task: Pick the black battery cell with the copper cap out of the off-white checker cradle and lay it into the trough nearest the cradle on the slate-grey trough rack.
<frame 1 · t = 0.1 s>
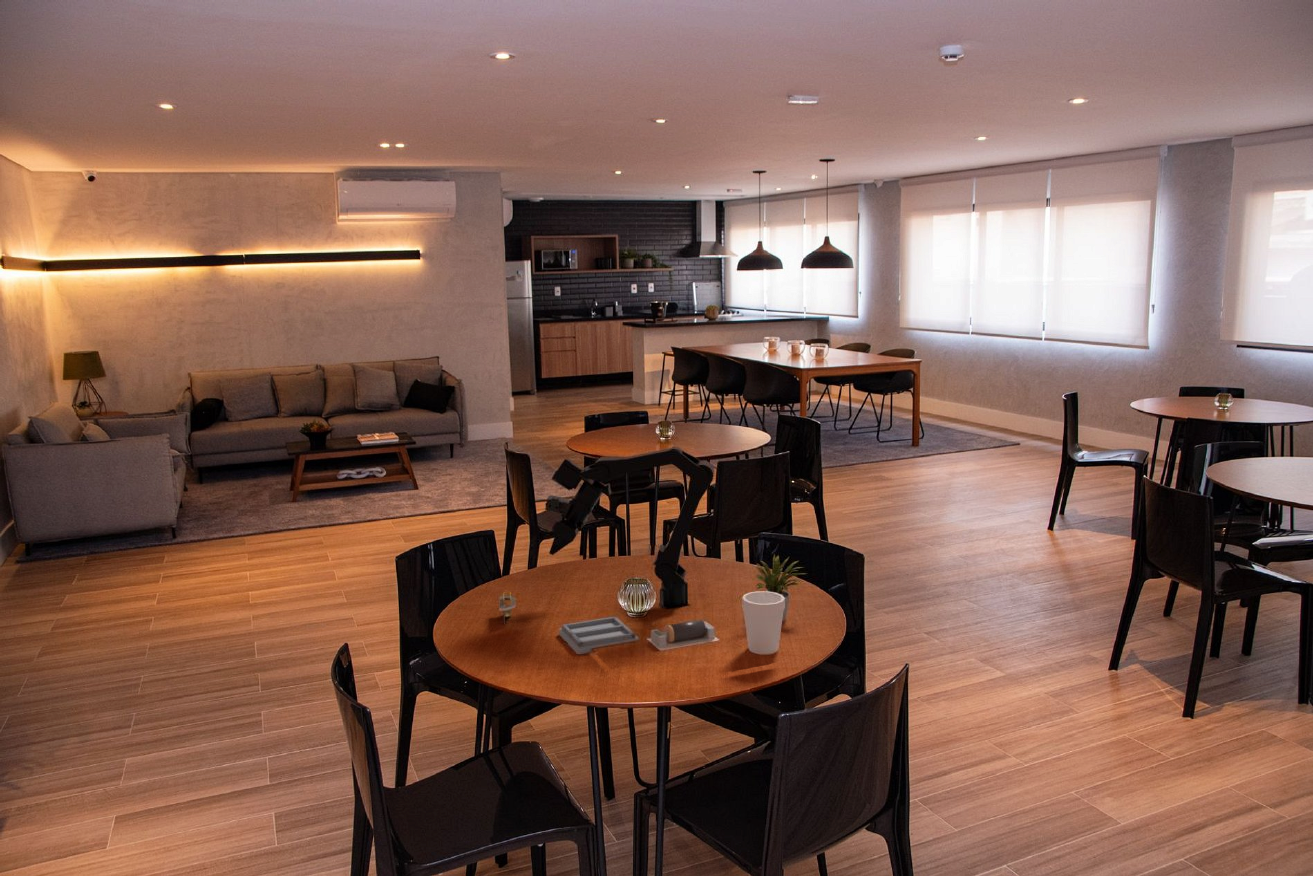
hand: (554, 549, 249), 15 cm above the table, tool tilted 35°, fingers open, 9 cm apart
house plant: (773, 620, 237), on the table
foam cup: (763, 654, 215), on the table
trough rack: (598, 639, 225), on the table
checker cradle: (683, 643, 222), on the table
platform: (508, 621, 240), on the table
battery cell: (684, 639, 222), point 1 cm above the table, touching checker cradle
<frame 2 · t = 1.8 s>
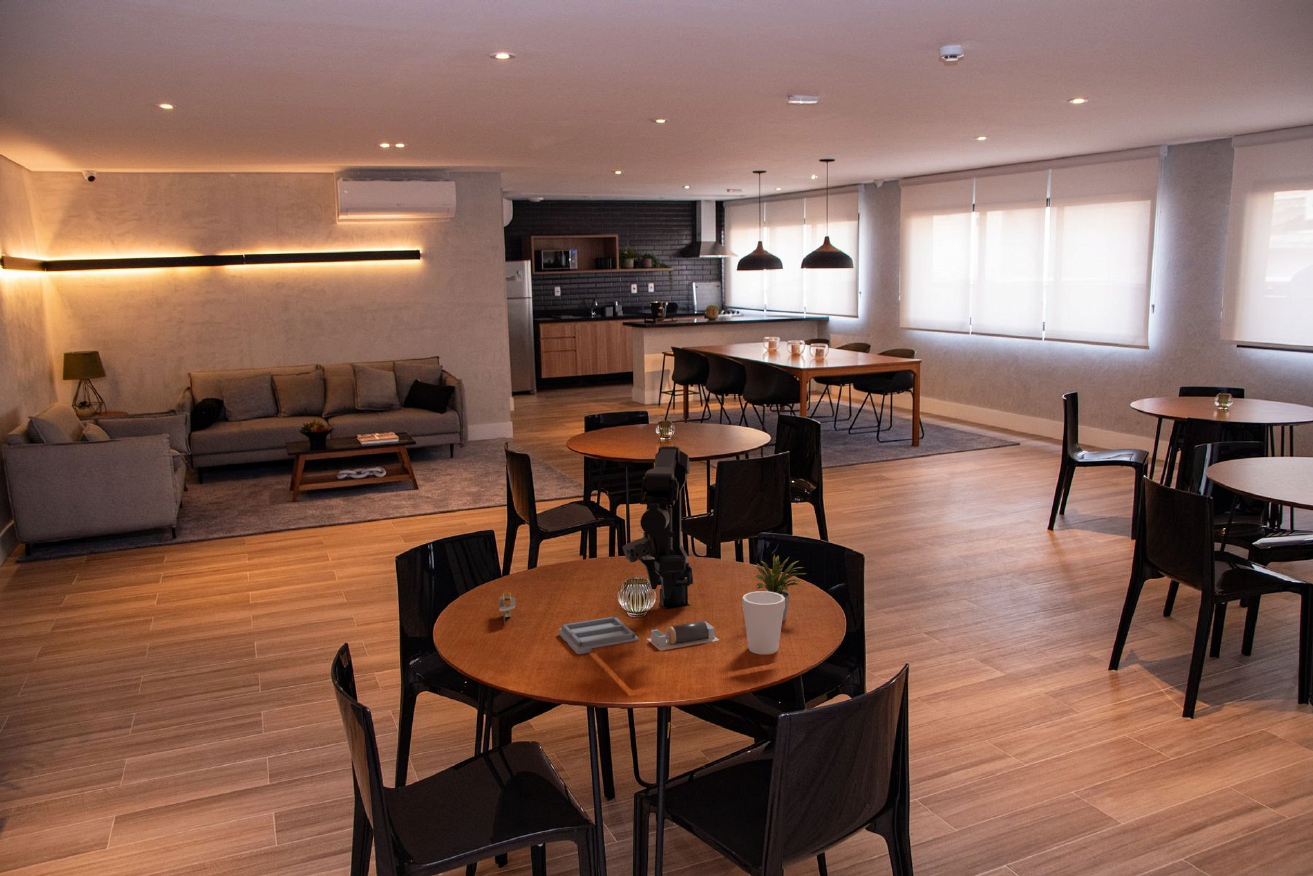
hand: (660, 593, 220), 12 cm above the table, tool pointing down, fingers open, 9 cm apart
battery cell: (684, 638, 222), point 1 cm above the table, tilted 34°, touching checker cradle
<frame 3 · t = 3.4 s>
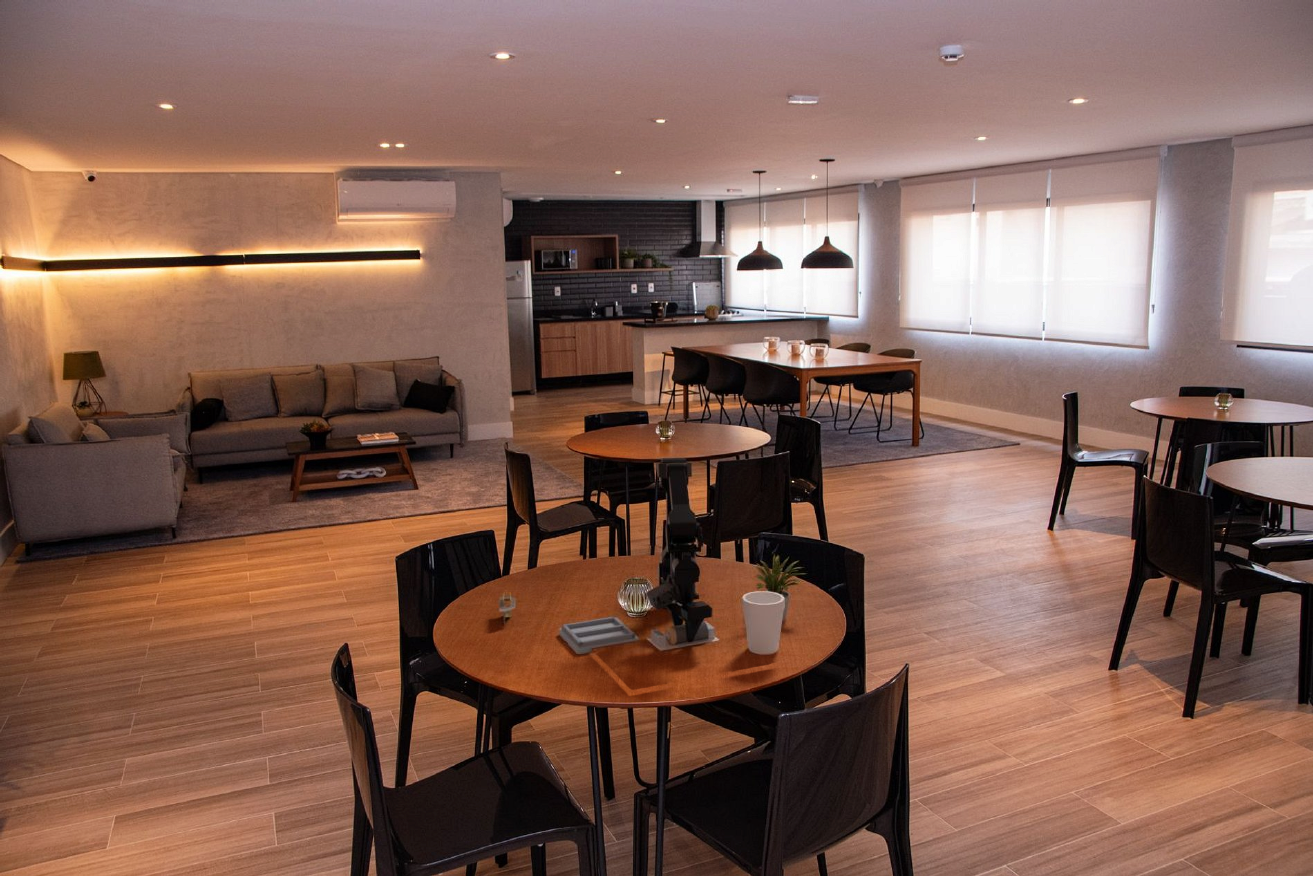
hand: (683, 637, 222), 2 cm above the table, tool pointing down, fingers open, 6 cm apart
battery cell: (684, 637, 222), point 1 cm above the table, tilted 39°, touching checker cradle
everything else where it was.
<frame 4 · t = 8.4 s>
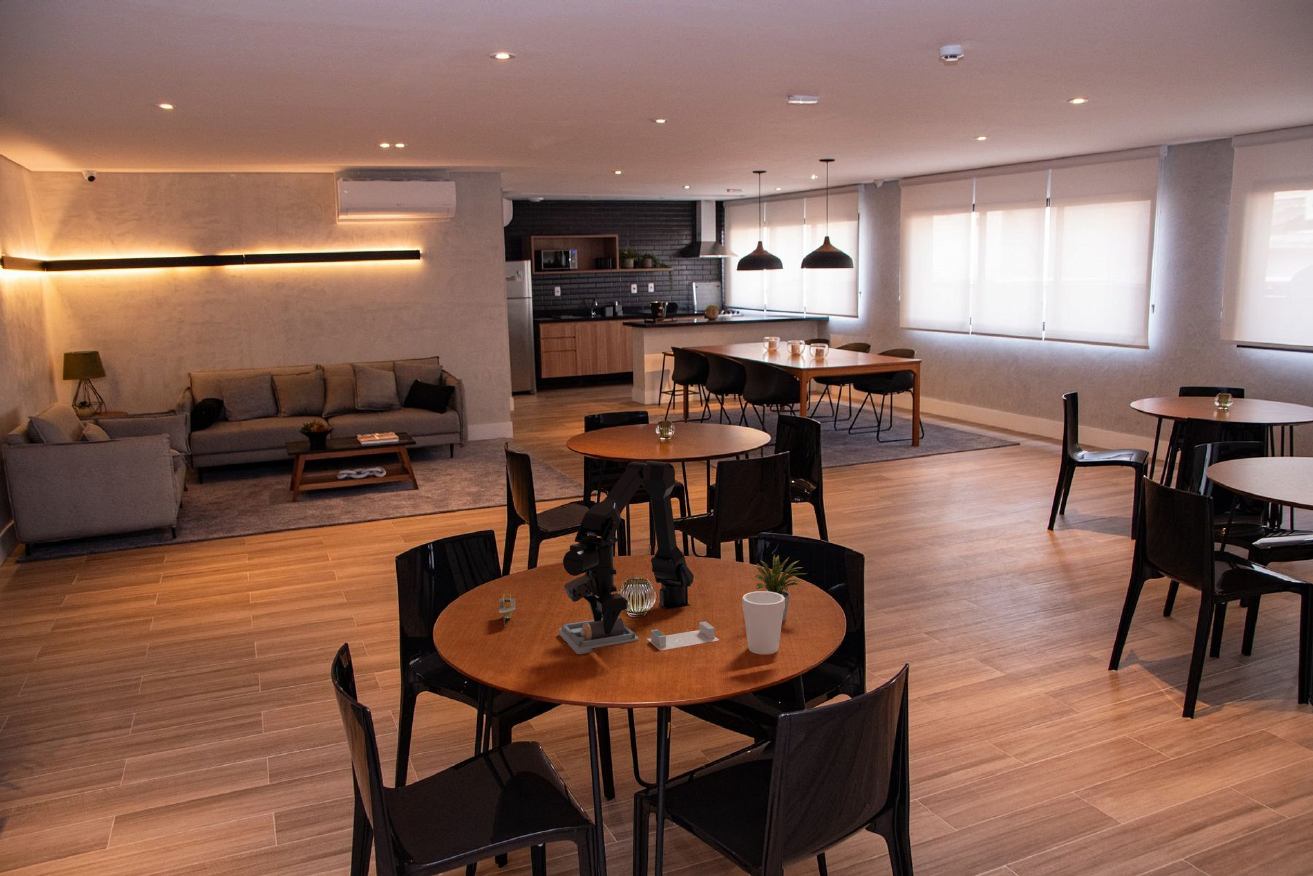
hand: (602, 629, 222), 3 cm above the table, tool pointing down, fingers open, 7 cm apart
battery cell: (603, 637, 222), point 1 cm above the table, touching trough rack
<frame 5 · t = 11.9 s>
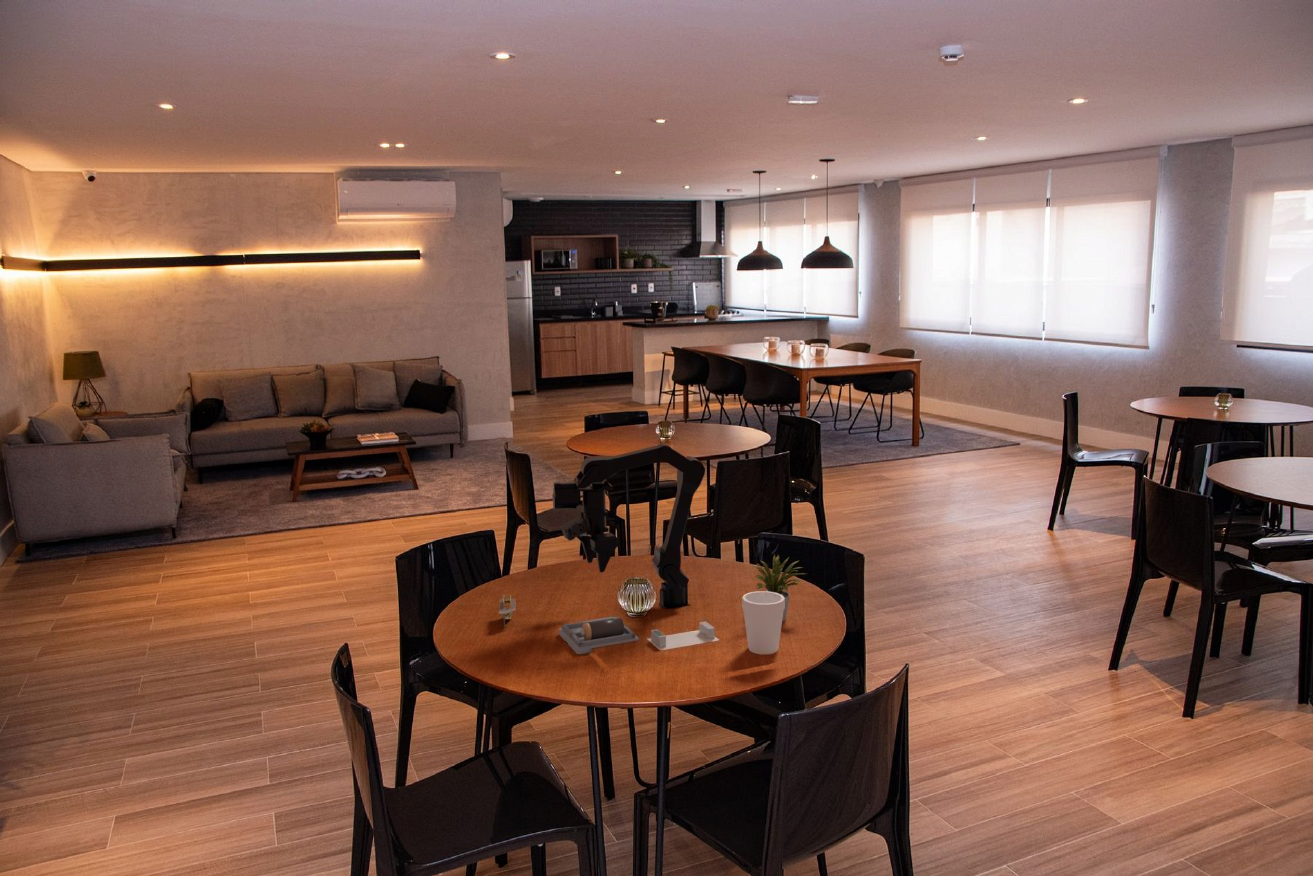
hand: (595, 567, 242), 12 cm above the table, tool pointing down, fingers open, 9 cm apart
at the end: battery cell 0.2 cm from the target spot on the trough rack, point 1.5 cm above the trough rack's base; the gripper is holding nothing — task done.
